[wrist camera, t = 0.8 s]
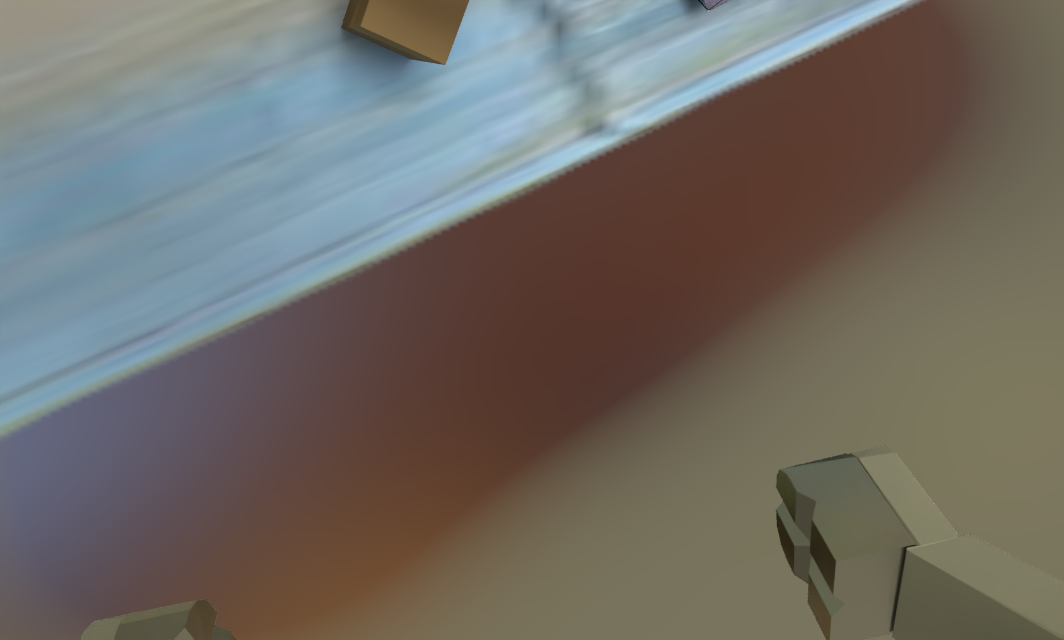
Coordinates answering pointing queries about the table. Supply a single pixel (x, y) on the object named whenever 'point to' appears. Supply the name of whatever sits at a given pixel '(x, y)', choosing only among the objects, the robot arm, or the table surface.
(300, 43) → the table surface
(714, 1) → the geometric puzzle
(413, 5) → the walnut block
